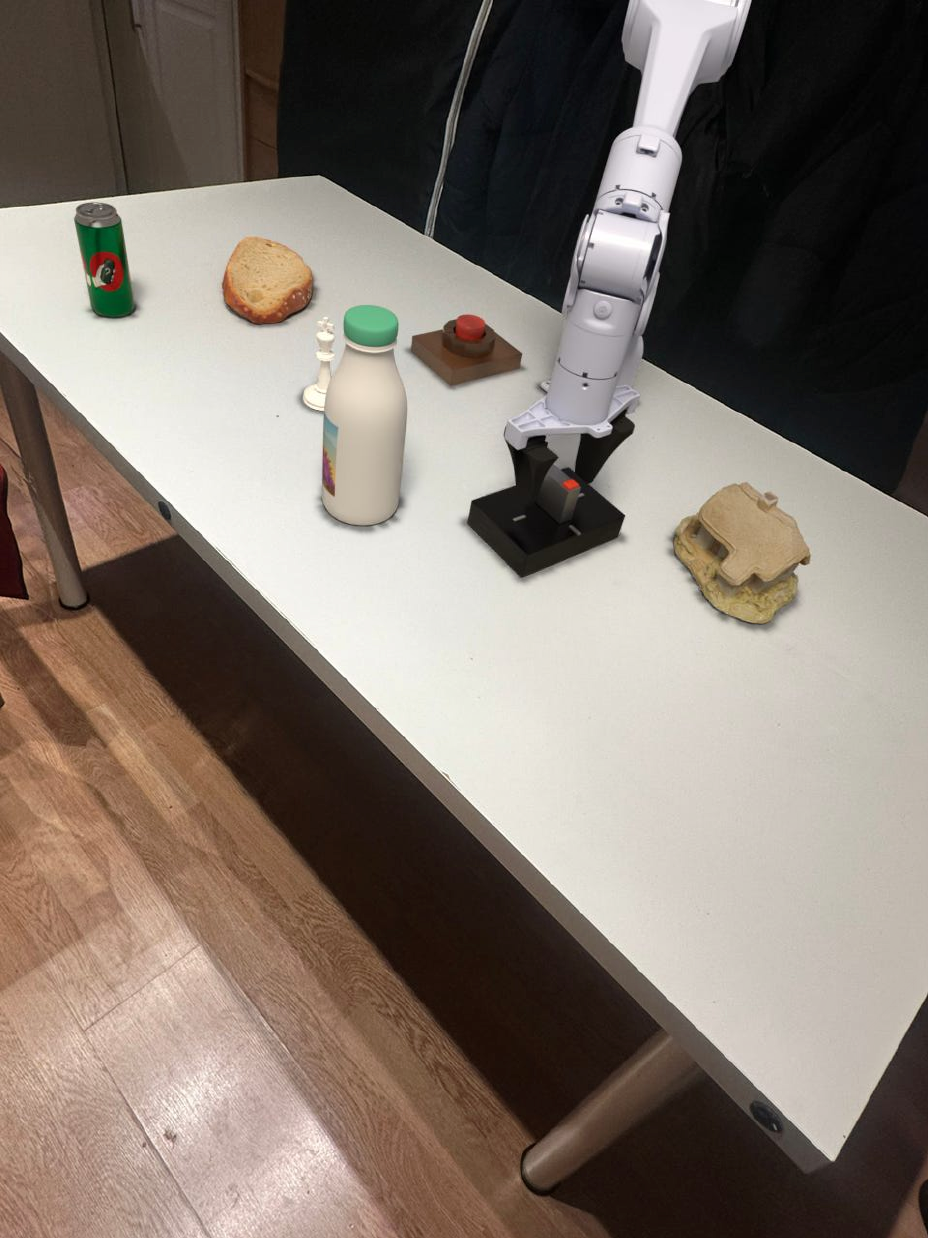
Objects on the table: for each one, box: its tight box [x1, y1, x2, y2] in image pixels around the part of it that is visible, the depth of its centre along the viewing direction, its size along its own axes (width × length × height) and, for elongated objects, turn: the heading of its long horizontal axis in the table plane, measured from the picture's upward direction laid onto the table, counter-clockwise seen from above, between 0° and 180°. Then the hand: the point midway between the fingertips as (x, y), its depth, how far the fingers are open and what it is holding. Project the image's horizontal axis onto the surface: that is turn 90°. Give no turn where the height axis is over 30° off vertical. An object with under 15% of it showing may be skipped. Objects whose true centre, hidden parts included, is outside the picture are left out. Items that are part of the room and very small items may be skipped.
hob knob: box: [535, 463, 581, 524], centre depth 80 cm, size 5×2×4 cm, turn 36°
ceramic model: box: [673, 481, 812, 624], centre depth 80 cm, size 14×11×10 cm
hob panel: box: [466, 466, 626, 578], centre depth 83 cm, size 13×9×3 cm
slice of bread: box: [221, 236, 314, 325], centre depth 111 cm, size 18×18×4 cm
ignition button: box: [455, 313, 486, 340], centre depth 102 cm, size 4×4×2 cm
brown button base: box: [410, 318, 523, 387], centre depth 104 cm, size 11×9×4 cm
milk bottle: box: [321, 304, 408, 526], centre depth 76 cm, size 8×8×20 cm
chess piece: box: [302, 316, 336, 412], centre depth 91 cm, size 5×5×10 cm
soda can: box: [73, 201, 136, 319], centre depth 98 cm, size 5×5×12 cm
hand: (554, 488), depth 80 cm, fingers open, 7 cm apart
